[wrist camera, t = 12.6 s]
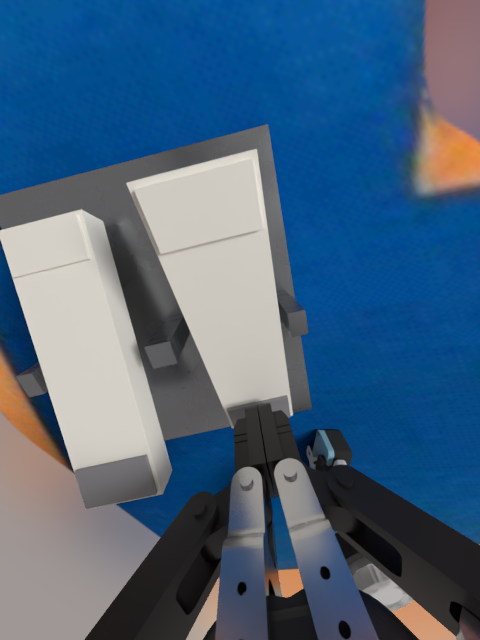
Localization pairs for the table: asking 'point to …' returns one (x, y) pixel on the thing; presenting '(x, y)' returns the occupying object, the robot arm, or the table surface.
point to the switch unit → (153, 286)
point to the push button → (366, 575)
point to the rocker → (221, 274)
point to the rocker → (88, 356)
